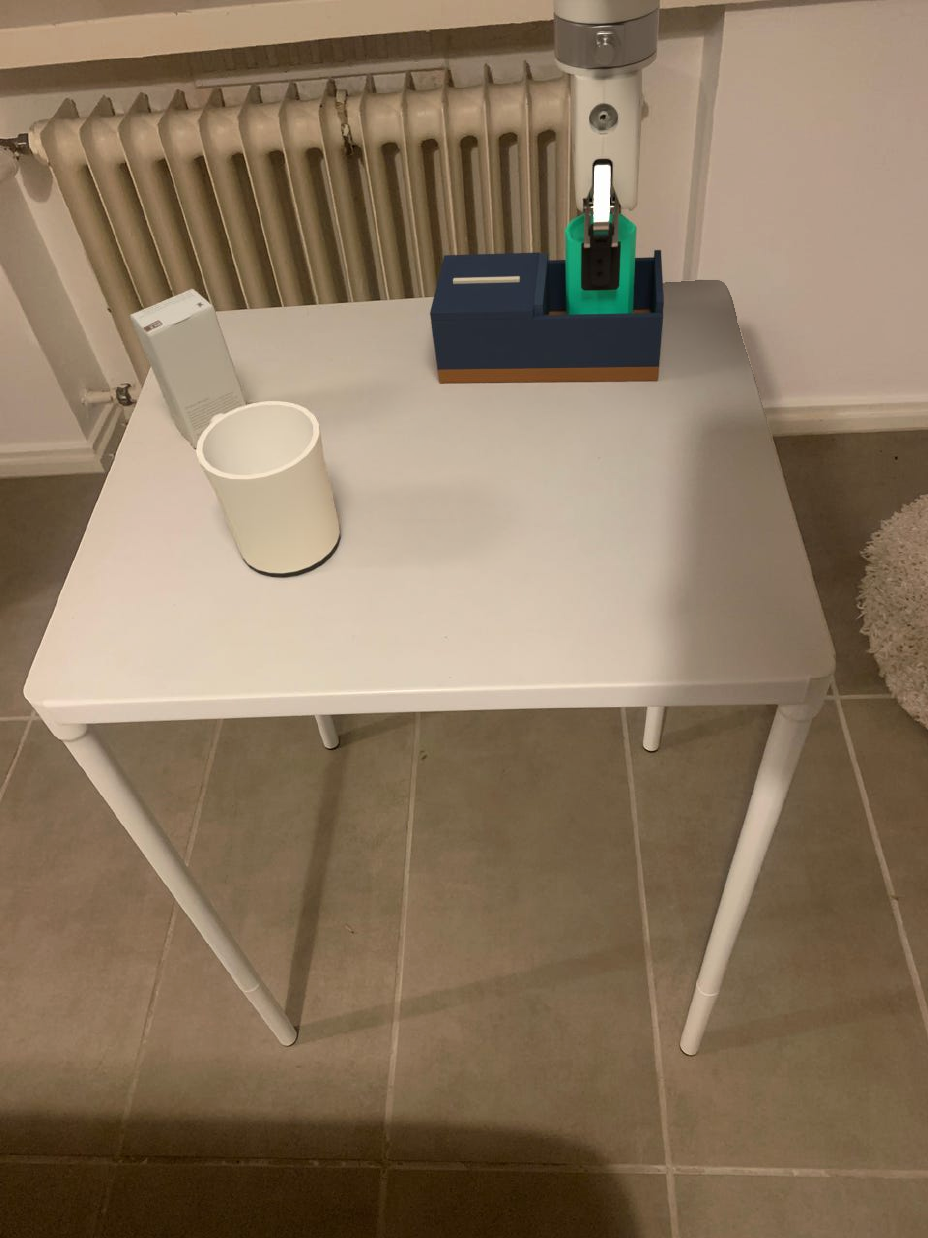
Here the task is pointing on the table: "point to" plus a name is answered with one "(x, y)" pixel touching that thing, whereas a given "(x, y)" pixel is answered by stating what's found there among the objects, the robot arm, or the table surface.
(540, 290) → the navy slotted box
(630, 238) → the candle
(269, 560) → the mug
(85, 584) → the table surface
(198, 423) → the cosmetic box
